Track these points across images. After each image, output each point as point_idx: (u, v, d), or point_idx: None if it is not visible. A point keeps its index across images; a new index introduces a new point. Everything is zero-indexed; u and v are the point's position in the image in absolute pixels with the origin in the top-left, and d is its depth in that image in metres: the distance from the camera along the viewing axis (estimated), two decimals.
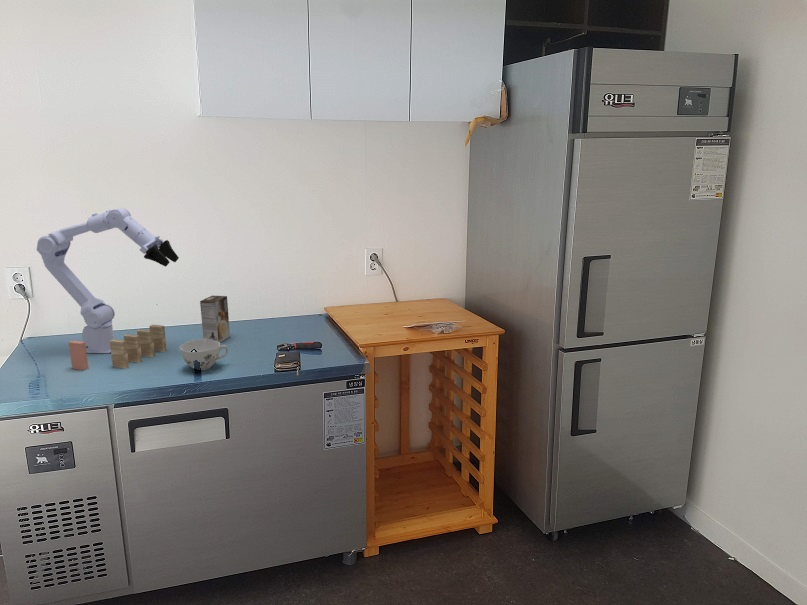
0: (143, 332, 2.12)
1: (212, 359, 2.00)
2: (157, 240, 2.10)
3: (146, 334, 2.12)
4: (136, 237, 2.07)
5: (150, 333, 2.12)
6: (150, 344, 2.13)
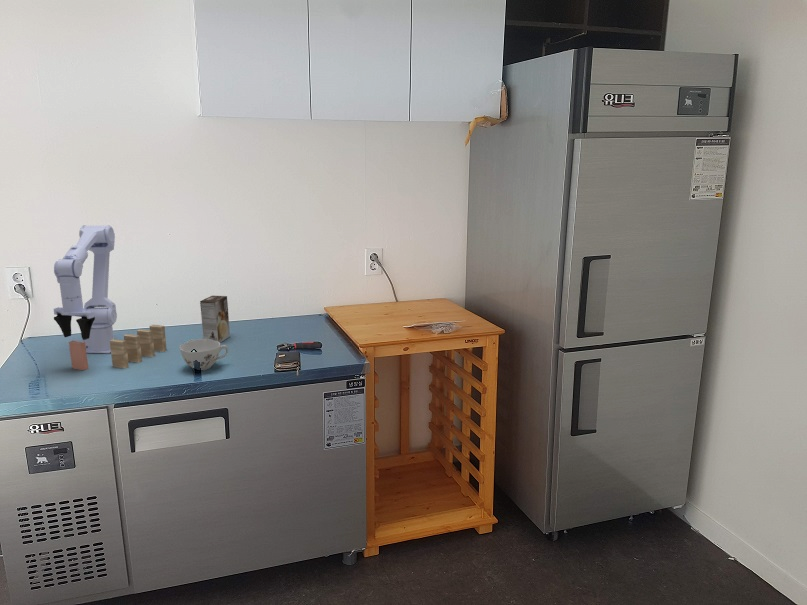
0: (143, 332, 2.12)
1: (212, 359, 2.00)
2: None
3: (146, 334, 2.12)
4: None
5: (150, 333, 2.12)
6: (150, 344, 2.13)
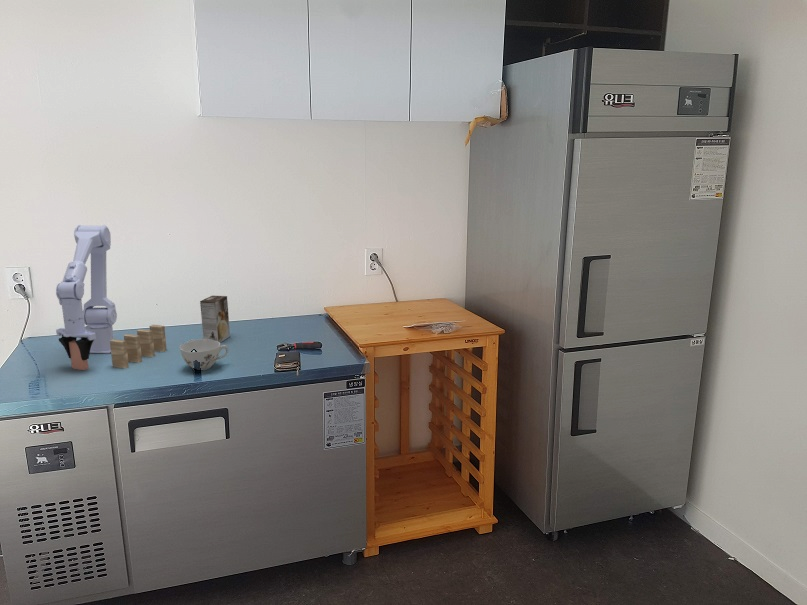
0: (143, 332, 2.12)
1: (212, 359, 2.00)
2: None
3: (146, 334, 2.12)
4: None
5: (150, 333, 2.12)
6: (150, 344, 2.13)
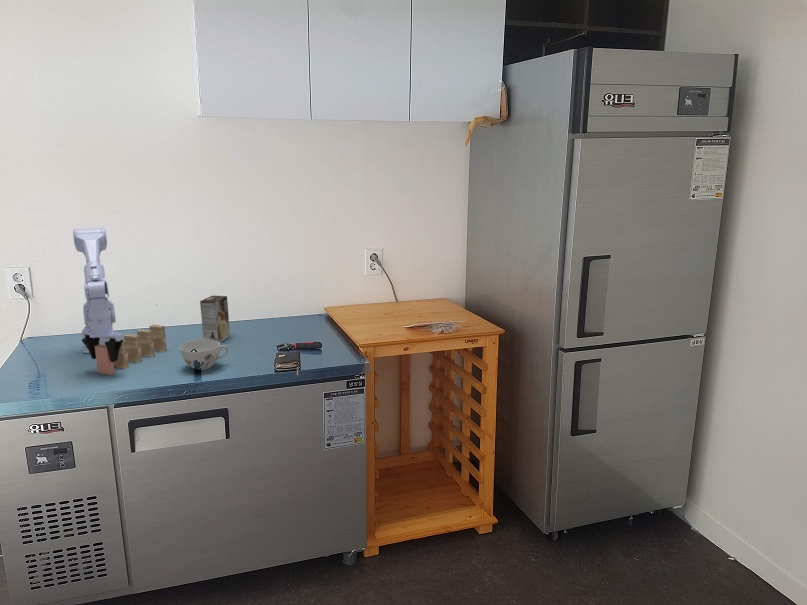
0: (143, 332, 2.12)
1: (212, 359, 2.00)
2: (97, 336, 1.93)
3: (146, 334, 2.12)
4: None
5: (150, 333, 2.12)
6: (150, 344, 2.13)
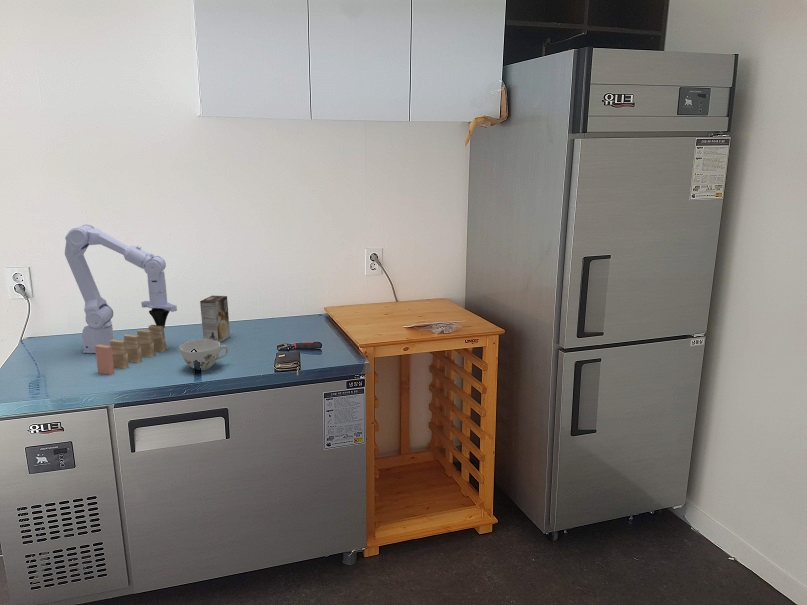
0: (143, 332, 2.12)
1: (212, 359, 2.00)
2: (155, 307, 2.16)
3: (146, 334, 2.12)
4: None
5: (150, 333, 2.12)
6: (150, 344, 2.13)
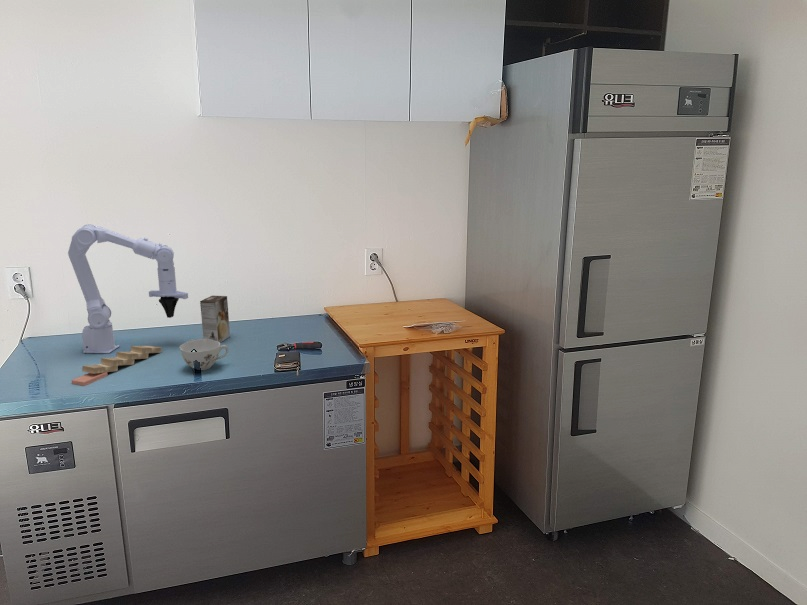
0: (123, 358, 2.05)
1: (212, 359, 2.00)
2: (166, 295, 2.20)
3: (128, 358, 2.05)
4: None
5: (129, 356, 2.04)
6: (138, 357, 2.08)
